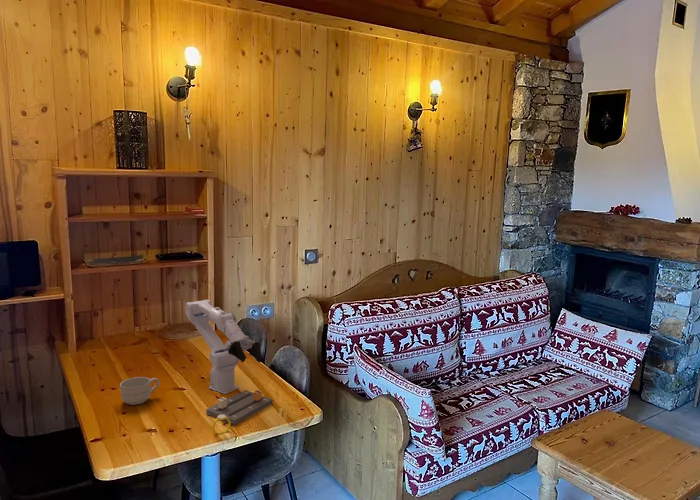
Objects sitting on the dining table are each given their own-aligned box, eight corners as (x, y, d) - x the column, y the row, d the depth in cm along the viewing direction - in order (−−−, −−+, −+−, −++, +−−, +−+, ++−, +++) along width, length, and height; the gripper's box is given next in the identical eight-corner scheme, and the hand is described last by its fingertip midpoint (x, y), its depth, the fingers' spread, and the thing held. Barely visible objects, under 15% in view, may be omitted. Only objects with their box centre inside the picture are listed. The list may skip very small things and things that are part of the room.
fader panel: (206, 414, 188) (206, 408, 188) (245, 394, 205) (245, 389, 204) (234, 425, 180) (234, 419, 180) (272, 403, 197) (272, 398, 197)
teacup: (121, 410, 189) (120, 389, 188) (119, 398, 198) (118, 378, 197) (162, 403, 195) (161, 383, 194) (158, 391, 205) (157, 372, 203)
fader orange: (253, 399, 195) (253, 391, 195) (257, 397, 197) (257, 389, 197) (257, 401, 194) (257, 392, 193) (261, 398, 196) (261, 390, 195)
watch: (228, 429, 178) (229, 413, 177) (231, 433, 176) (232, 416, 175) (211, 432, 175) (212, 415, 174) (213, 436, 173) (214, 419, 172)
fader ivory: (217, 407, 188) (217, 398, 188) (222, 404, 190) (222, 396, 190) (222, 408, 187) (221, 400, 187) (226, 406, 189) (226, 398, 189)
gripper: (225, 326, 191) (241, 350, 183) (255, 329, 202) (272, 352, 194) (216, 341, 193) (232, 366, 185) (247, 343, 204) (263, 366, 196)
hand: (252, 360), depth 189 cm, fingers open, 7 cm apart
